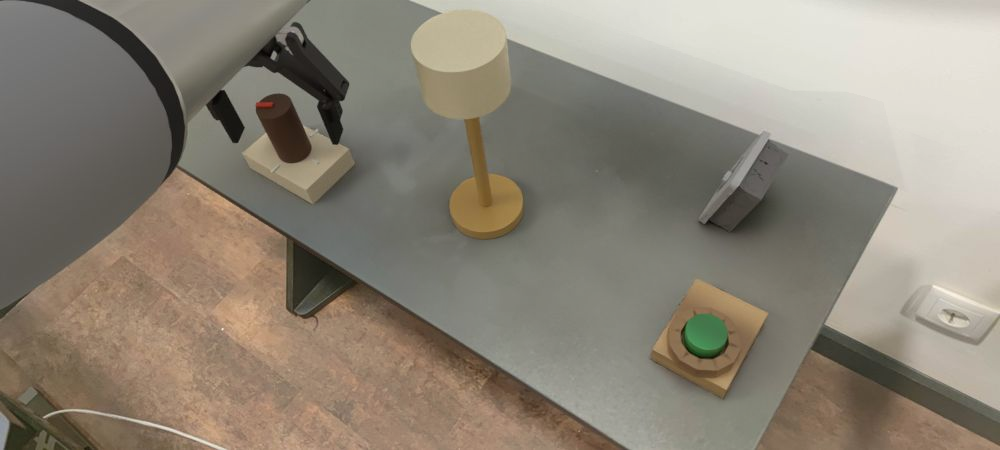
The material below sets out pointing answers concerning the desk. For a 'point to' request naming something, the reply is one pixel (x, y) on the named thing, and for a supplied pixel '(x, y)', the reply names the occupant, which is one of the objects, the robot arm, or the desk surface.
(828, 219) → the desk surface
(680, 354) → the power button base
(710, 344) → the power button
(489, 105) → the desk lamp
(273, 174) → the dimmer panel
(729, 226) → the electrical switch
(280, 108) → the dimmer knob
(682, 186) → the desk surface
